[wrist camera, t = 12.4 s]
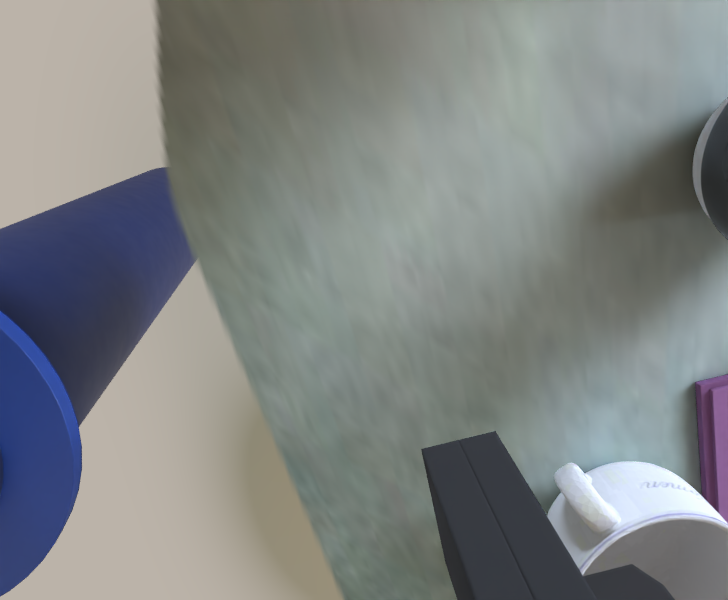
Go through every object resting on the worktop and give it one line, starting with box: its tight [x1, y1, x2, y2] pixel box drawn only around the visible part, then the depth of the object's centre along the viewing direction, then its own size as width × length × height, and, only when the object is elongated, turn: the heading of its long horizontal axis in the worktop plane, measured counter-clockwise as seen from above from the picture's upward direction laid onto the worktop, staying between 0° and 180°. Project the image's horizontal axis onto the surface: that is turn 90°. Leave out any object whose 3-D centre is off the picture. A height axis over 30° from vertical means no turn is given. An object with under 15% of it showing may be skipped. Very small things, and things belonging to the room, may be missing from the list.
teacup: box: [547, 461, 728, 600], centre depth 38 cm, size 14×11×8 cm
